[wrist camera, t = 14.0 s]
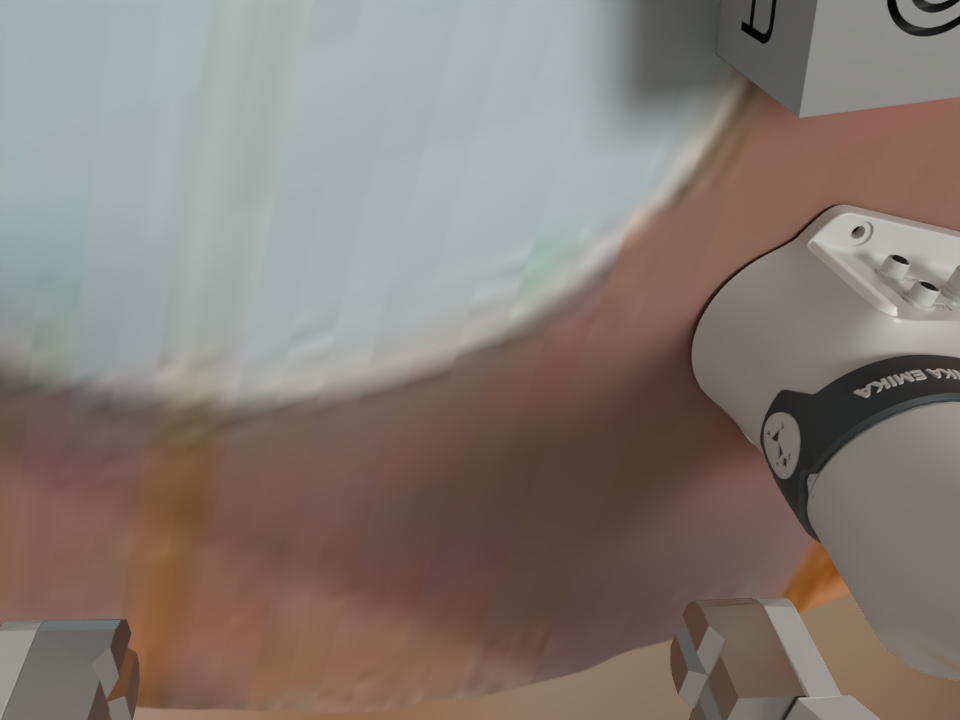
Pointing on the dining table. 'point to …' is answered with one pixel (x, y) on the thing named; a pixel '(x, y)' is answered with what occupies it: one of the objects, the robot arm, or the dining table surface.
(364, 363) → the dining table surface
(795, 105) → the icon cube
